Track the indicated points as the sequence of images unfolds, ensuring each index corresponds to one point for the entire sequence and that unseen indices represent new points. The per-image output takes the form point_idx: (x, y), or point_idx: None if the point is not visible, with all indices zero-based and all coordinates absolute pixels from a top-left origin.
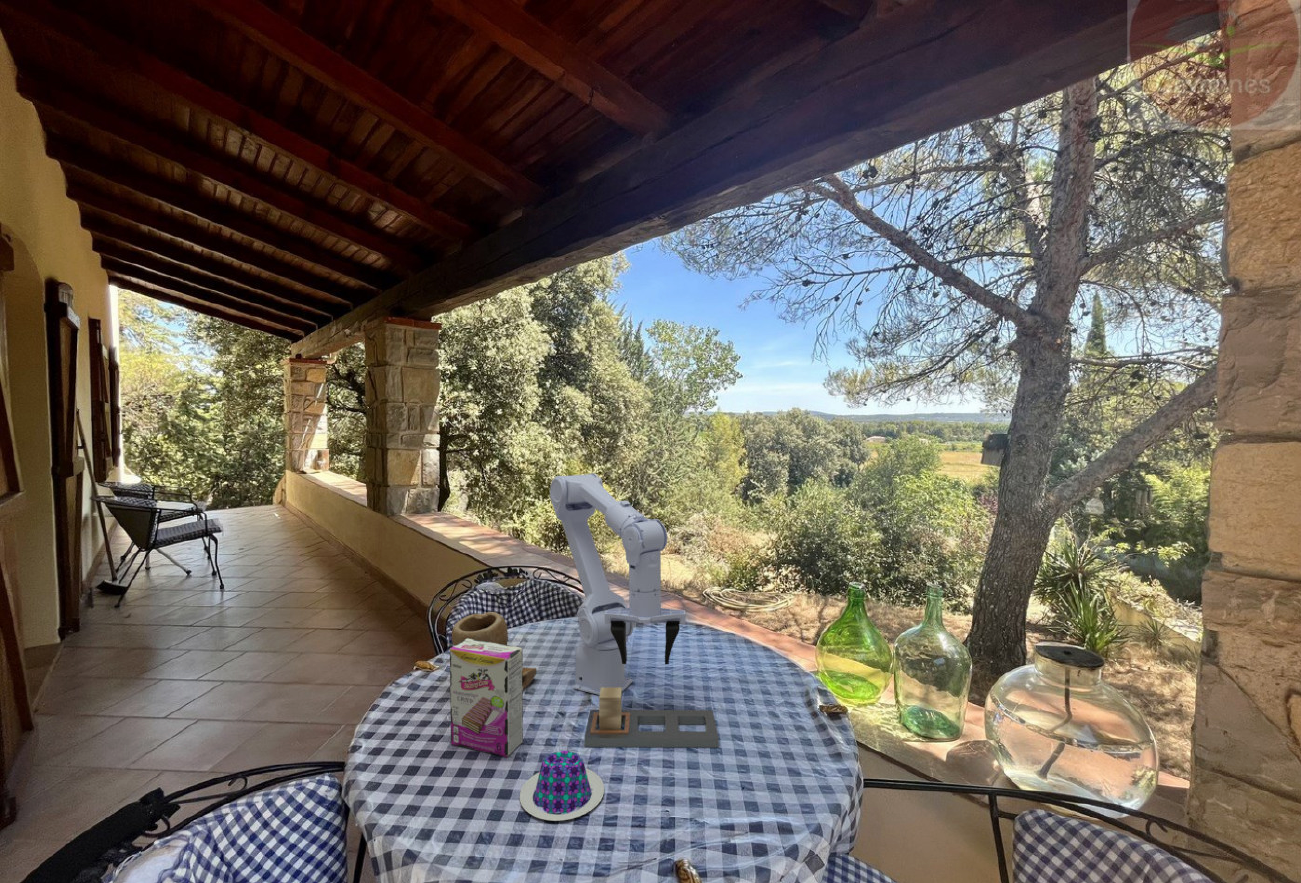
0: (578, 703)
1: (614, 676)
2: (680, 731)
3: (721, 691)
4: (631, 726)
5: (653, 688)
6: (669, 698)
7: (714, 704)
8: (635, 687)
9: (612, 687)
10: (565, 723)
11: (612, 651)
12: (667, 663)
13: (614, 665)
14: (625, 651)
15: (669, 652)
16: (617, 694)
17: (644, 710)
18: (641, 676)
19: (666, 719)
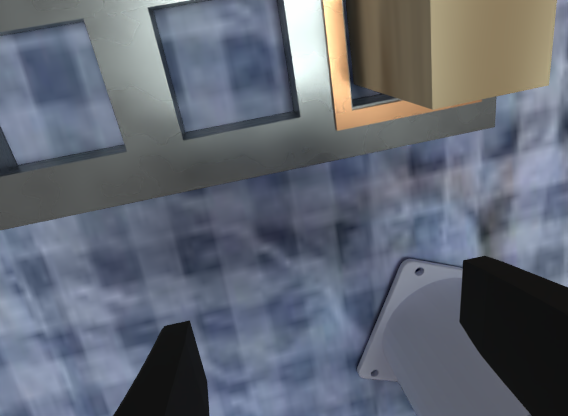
0: (519, 205)
1: (438, 328)
2: (74, 17)
3: (29, 400)
4: (313, 23)
5: (280, 354)
6: (210, 311)
7: (27, 315)
8: (342, 344)
9: (484, 97)
10: (558, 65)
11: (518, 412)
12: (168, 327)
13: (464, 362)
14: (523, 328)
15: (131, 394)
16: (452, 8)
17: (280, 167)
18: (332, 407)
19: (170, 114)
